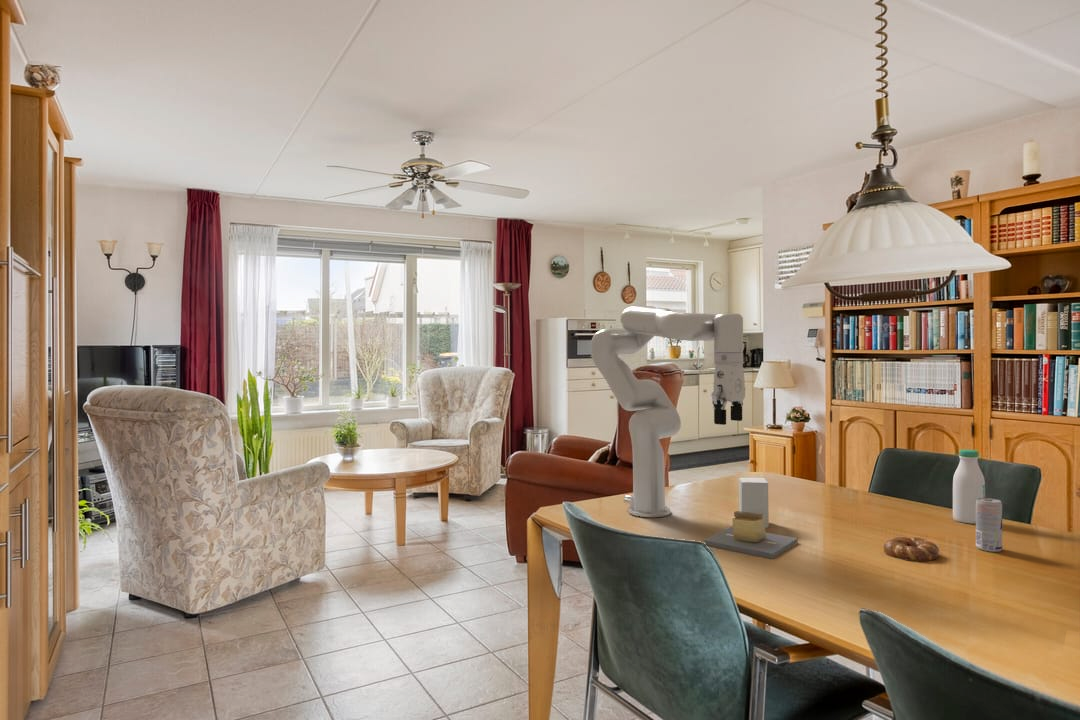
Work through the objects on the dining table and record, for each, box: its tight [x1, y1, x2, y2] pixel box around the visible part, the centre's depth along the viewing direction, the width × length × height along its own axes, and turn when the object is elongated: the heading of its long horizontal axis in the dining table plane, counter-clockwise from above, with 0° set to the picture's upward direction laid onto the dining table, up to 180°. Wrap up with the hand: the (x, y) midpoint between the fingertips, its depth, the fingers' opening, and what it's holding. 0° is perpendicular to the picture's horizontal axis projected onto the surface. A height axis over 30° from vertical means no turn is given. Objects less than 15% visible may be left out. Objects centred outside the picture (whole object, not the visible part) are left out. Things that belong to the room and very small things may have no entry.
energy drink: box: [975, 497, 1003, 553], centre depth 163 cm, size 5×5×12 cm
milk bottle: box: [952, 448, 986, 525], centre depth 187 cm, size 8×8×20 cm
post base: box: [703, 525, 799, 560], centre depth 170 cm, size 18×16×5 cm
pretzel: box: [883, 536, 940, 562], centre depth 160 cm, size 12×11×4 cm
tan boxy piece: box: [732, 510, 767, 543], centre depth 171 cm, size 7×6×6 cm
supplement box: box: [738, 477, 770, 529], centre depth 188 cm, size 7×7×13 cm
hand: (728, 422), depth 181 cm, fingers open, 9 cm apart
